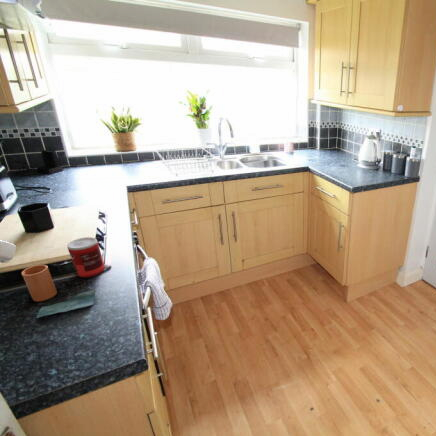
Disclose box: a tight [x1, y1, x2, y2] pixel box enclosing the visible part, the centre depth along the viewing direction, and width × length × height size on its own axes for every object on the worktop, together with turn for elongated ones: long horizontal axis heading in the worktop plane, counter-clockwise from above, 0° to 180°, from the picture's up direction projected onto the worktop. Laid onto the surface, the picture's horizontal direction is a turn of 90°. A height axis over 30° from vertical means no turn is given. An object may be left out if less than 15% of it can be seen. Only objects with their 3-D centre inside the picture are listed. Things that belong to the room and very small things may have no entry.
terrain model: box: [35, 289, 97, 319], centre depth 89 cm, size 13×8×2 cm, turn 122°
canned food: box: [66, 236, 106, 278], centre depth 104 cm, size 8×8×11 cm
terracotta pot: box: [20, 264, 58, 302], centre depth 93 cm, size 6×6×9 cm
